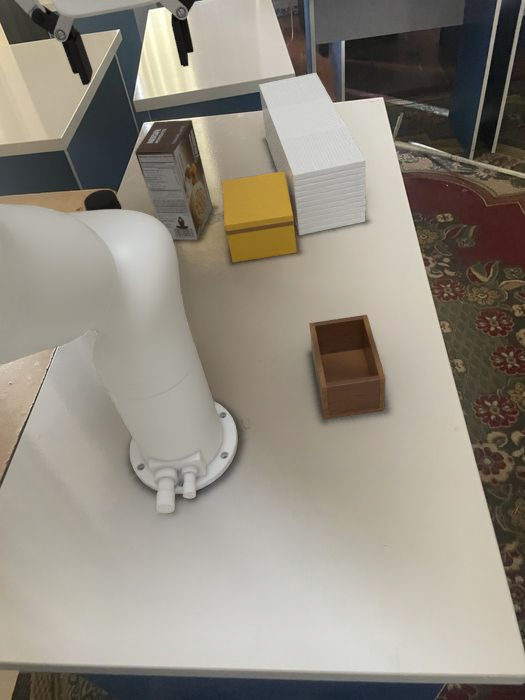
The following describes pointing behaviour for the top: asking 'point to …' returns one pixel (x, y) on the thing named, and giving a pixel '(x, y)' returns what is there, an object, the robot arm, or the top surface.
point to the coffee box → (175, 178)
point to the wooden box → (347, 367)
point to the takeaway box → (258, 217)
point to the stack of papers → (313, 154)
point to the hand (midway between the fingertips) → (136, 70)
